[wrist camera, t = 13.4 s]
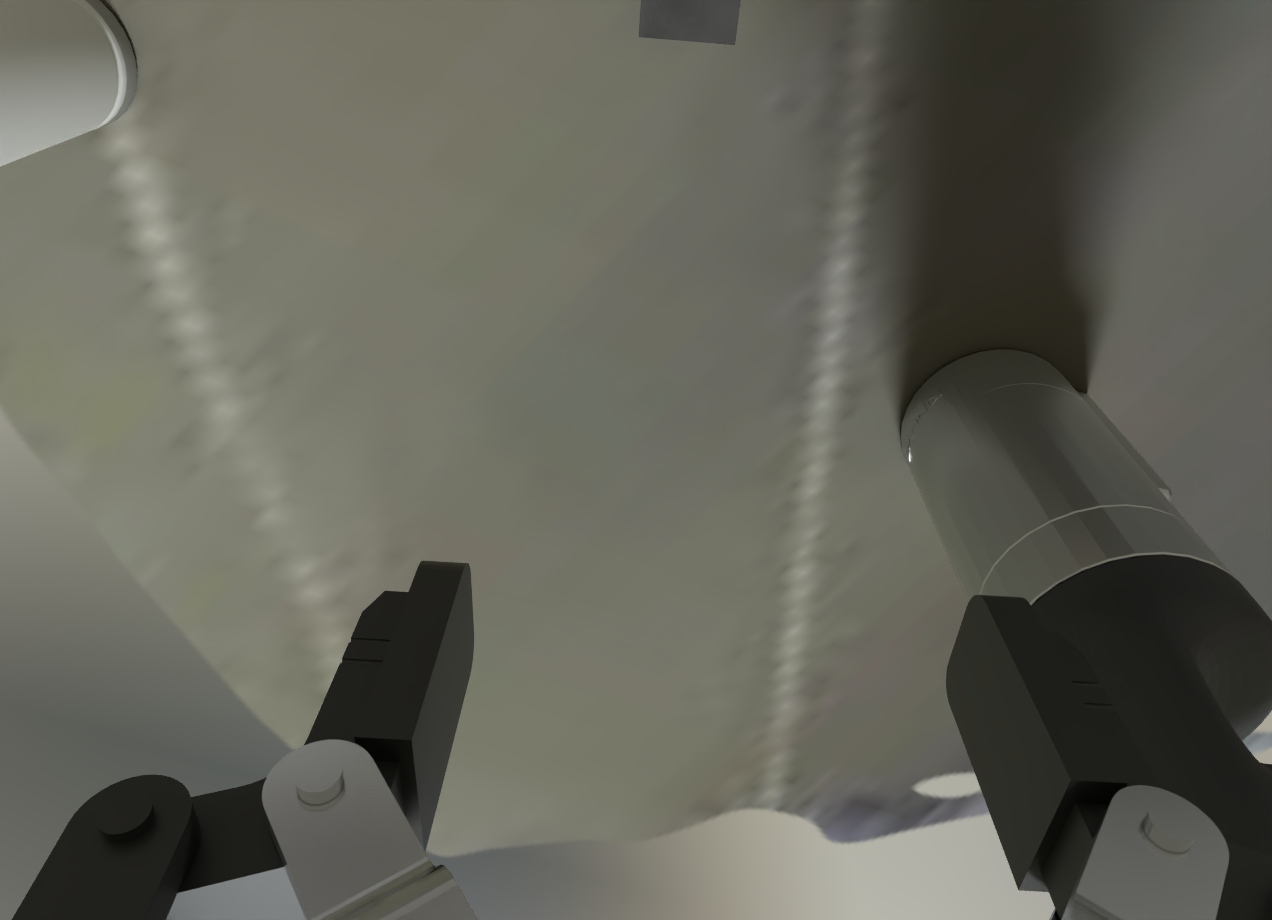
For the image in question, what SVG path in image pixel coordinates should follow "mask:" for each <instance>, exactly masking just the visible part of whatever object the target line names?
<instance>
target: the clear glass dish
mask: <svg viewBox="0 0 1272 920" xmlns="http://www.w3.org/2000/svg"><path fill="white" fill-rule="evenodd" d="M739 7H740V0H641V10H640V25H639V37H646V38H658V39H670V40H682V41H694V42H706V43H718V44H729V45H735V40H736V32H737V24H738V16H739Z"/></svg>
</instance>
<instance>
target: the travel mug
mask: <svg viewBox="0 0 1272 920" xmlns="http://www.w3.org/2000/svg"><path fill="white" fill-rule="evenodd" d="M136 87H137V67H136V60H135V57H134V53H133V50H132V46H131V44H130V42H129V40H128V38H127V36H126V34H125V31H124V30H123V28H122V27H121V25H120V24H119V22H118V21H117V19H116V18H115V16H114V15H113V14H112V13H111V12H110V11H109V10H108V9H107V7H106V6H105V5H104V4H103V3H102V2H101V1H99V0H0V166H3V165H5V164H8V163H10V162H13V161H15V160H18V159H20V158H23V157H26V156H28V155H31V154H33V153H36V152H38V151H41V150H43V149H46V148H48V147H51V146H54V145H56V144H59V143H61V142H64V141H66V140H69V139H71V138H74V137H77V136H79V135H82V134H84V133H87V132H89V131H91V130H94V129H97V128H100V127H102V126H105V125H107V124H109V123H111V122H113V121H115V120H117V119H118V118H119V117H121V116H122V115H123V114H124V113H125V112H126V111H127V109H128V108H129V106H130V104H131V103H132V101H133V98H134V95H135V91H136Z"/></svg>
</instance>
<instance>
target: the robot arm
mask: <svg viewBox="0 0 1272 920" xmlns="http://www.w3.org/2000/svg"><path fill="white" fill-rule="evenodd" d="M901 444H902V449H903V454H904V456H905V458H906V460H907V463H908V465H909V467H910V470H911V472H912V474H913V477H914V479H915V481H916V484H917V486H918V488H919V490H920V493H921V496H922V498H923V500H924V503H925V505H926V507H927V510H928V512H929V514H930V516H931V519H932V521H933V523H934V525H935V528H936V530H937V532H938V534H939V537H940V539H941V541H942V544H943V546H944V548H945V550H946V553H947V555H948V557H949V559H950V562H951V564H952V566H953V569H954V571H955V573H956V575H957V578H958V580H959V582H960V584H961V587H962V589H963V591H964V594H965V596H966V598H967V600H968V605H967V608H966V611H965V614H964V617H963V620H962V623H961V626H960V630H959V633H958V636H957V639H956V642H955V645H954V648H953V651H952V654H951V657H950V660H949V663H948V667H947V674H946V688H947V696H948V701H949V704H950V707H951V710H952V713H953V715H954V718H955V721H956V723H957V726H958V729H959V731H960V734H961V737H962V739H963V742H964V745H965V747H966V750H967V753H968V756H969V758H970V761H971V764H972V766H973V769H974V772H975V774H976V777H977V780H978V782H979V785H980V788H981V790H982V793H983V796H984V799H985V801H986V804H987V807H988V809H989V812H990V815H991V817H992V820H993V823H994V825H995V828H996V830H997V833H998V836H999V839H1000V842H1001V844H1002V847H1003V850H1004V852H1005V855H1006V858H1007V860H1008V863H1009V865H1010V868H1011V871H1012V874H1013V876H1014V879H1015V882H1016V885H1017V887H1018V890H1024V891H1042V892H1049V893H1050V896H1051V898H1052V901H1053V903H1054V906H1055V910H1054V911H1053V913H1052V915H1051V917H1050V920H1272V764H1263V763H1260V762H1259V761H1258V760H1257V759H1256V758H1255V757H1254V756H1253V755H1252V753H1251V752H1250V751H1249V750H1248V749H1247V747H1246V746H1245V745H1244V743H1243V742H1242V740H1244V739H1245V738H1246V737H1247V736H1248V735H1250V734H1251V733H1252V732H1253V731H1254V730H1255V729H1256V728H1257V727H1258V726H1259V725H1260V724H1261V723H1262V722H1263V721H1264V719H1265V718H1266V717H1267V716H1268V715H1269V713H1270V712H1271V710H1272V621H1271V619H1270V618H1269V617H1268V616H1267V614H1266V613H1265V612H1264V611H1263V609H1262V608H1261V607H1260V606H1259V604H1258V603H1257V602H1256V601H1255V600H1254V598H1253V597H1252V596H1251V595H1250V594H1249V593H1248V591H1247V590H1246V589H1245V588H1244V587H1243V586H1242V584H1241V583H1240V582H1239V581H1238V580H1237V579H1236V578H1235V577H1234V576H1233V575H1232V574H1231V572H1230V571H1229V570H1228V569H1227V568H1226V567H1225V565H1224V564H1223V563H1222V562H1221V561H1220V560H1219V558H1218V557H1217V556H1216V555H1215V554H1214V553H1213V551H1212V550H1211V549H1210V548H1209V547H1208V545H1207V544H1206V543H1205V542H1204V541H1203V540H1202V539H1201V537H1200V536H1199V535H1198V534H1197V533H1196V532H1195V531H1194V530H1193V528H1192V527H1191V526H1190V525H1189V524H1188V523H1187V521H1186V520H1185V519H1184V518H1183V517H1182V516H1181V514H1180V513H1179V512H1178V511H1177V510H1176V508H1175V507H1174V506H1173V505H1172V504H1171V503H1170V502H1171V500H1172V493H1171V490H1170V488H1169V487H1168V486H1167V485H1166V484H1165V483H1164V481H1163V480H1162V479H1161V478H1160V477H1159V476H1158V475H1157V473H1156V472H1155V471H1154V470H1153V469H1152V468H1151V467H1150V465H1149V464H1148V463H1147V462H1146V461H1145V460H1144V458H1143V457H1142V456H1141V455H1140V454H1139V453H1138V452H1137V450H1136V449H1135V448H1134V447H1133V446H1132V445H1131V444H1130V442H1129V441H1128V440H1127V439H1126V438H1125V437H1124V436H1123V434H1122V433H1121V432H1120V431H1119V430H1118V429H1117V428H1116V426H1115V425H1114V424H1113V423H1112V422H1111V421H1110V420H1109V418H1108V417H1107V416H1106V415H1105V414H1104V413H1103V412H1102V410H1101V409H1100V408H1099V407H1098V406H1097V405H1096V404H1095V402H1094V401H1093V400H1092V399H1091V398H1090V397H1089V395H1087V394H1085V393H1081V392H1077V391H1076V390H1075V389H1074V388H1073V387H1072V386H1071V384H1070V383H1069V382H1068V381H1067V380H1066V379H1065V377H1064V376H1063V375H1062V374H1061V373H1060V372H1059V371H1058V370H1057V369H1056V368H1055V367H1054V366H1052V365H1051V364H1050V363H1049V362H1048V361H1046V360H1044V359H1042V358H1040V357H1038V356H1036V355H1034V354H1030V353H1026V352H1022V351H1018V350H1003V349H996V350H990V351H983V352H978V353H975V354H972V355H969V356H966V357H963V358H960V359H958V360H956V361H954V362H952V363H950V364H949V365H947V366H945V367H943V368H942V369H940V370H939V371H938V372H937V373H935V374H934V375H933V376H931V377H930V378H929V379H928V380H927V381H926V382H925V383H924V384H923V385H922V386H921V388H920V389H919V390H918V391H917V392H916V393H915V395H914V397H913V398H912V400H911V402H910V403H909V405H908V407H907V409H906V412H905V415H904V418H903V421H902V427H901ZM473 650H474V626H473V607H472V588H471V572H470V566H469V564H468V563H454V562H437V561H421V562H420V564H419V566H418V569H417V571H416V574H415V577H414V579H413V582H412V585H411V587H410V590H409V592H395V591H384V592H383V593H382V594H381V595H380V596H379V597H378V598H377V599H376V600H375V601H374V602H373V603H372V604H370V605H369V606H368V607H367V608H366V609H365V610H364V611H363V612H362V614H361V616H360V618H359V621H358V623H357V625H356V628H355V630H354V632H353V635H352V637H351V643H349V644H348V646H347V648H346V651H345V653H344V655H343V658H342V664H341V663H340V665H339V667H338V669H337V672H336V674H335V676H334V679H333V681H332V683H331V685H330V688H329V690H328V692H327V695H326V697H325V699H324V702H323V704H322V706H321V709H320V711H319V713H318V716H317V718H316V720H315V722H314V725H313V727H312V729H311V732H310V734H309V736H308V739H307V740H306V742H305V744H304V746H302V747H300V748H298V749H296V750H294V751H292V752H291V753H289V754H288V755H286V756H285V757H284V758H282V759H281V760H280V761H279V762H278V763H277V764H276V765H275V766H274V767H273V769H272V770H271V771H270V773H269V775H268V776H267V777H266V778H264V779H262V780H260V781H257V782H254V783H252V784H248V785H245V786H241V787H237V788H232V789H228V790H223V791H218V792H214V793H209V794H204V795H200V796H195V797H190V794H189V791H188V790H187V789H186V787H185V786H184V785H183V784H182V783H180V782H179V781H177V780H175V779H173V778H171V777H167V776H162V775H142V776H137V777H132V778H129V779H125V780H122V781H120V782H117V783H115V784H113V785H110V786H109V787H107V788H105V789H103V790H102V791H100V792H98V793H97V794H96V795H94V796H93V797H91V798H90V799H89V800H88V801H87V802H86V803H84V804H83V805H82V806H81V807H80V808H79V810H78V811H77V812H76V813H75V814H74V815H73V817H72V818H71V820H70V821H69V823H68V825H67V826H66V828H65V830H64V832H63V833H62V835H61V836H60V838H59V840H58V842H57V843H56V845H55V847H54V848H53V850H52V852H51V854H50V855H49V857H48V859H47V860H46V862H45V864H44V866H43V867H42V869H41V871H40V872H39V874H38V876H37V878H36V879H35V881H34V883H33V884H32V886H31V888H30V890H29V891H28V893H27V895H26V897H25V898H24V900H23V901H22V903H21V905H20V907H19V908H18V910H17V912H16V913H15V915H14V917H13V919H12V920H479V919H478V918H477V916H476V914H475V912H474V910H473V909H472V907H471V905H470V904H469V902H468V900H467V898H466V897H465V895H464V893H463V892H462V890H461V888H460V886H459V885H458V883H457V882H456V880H455V878H454V877H453V875H452V874H451V873H450V871H449V870H448V869H447V868H446V867H445V866H444V865H439V866H437V867H435V866H434V865H433V864H432V862H431V861H430V859H429V858H428V856H427V854H426V852H425V851H426V847H427V843H428V839H429V835H430V831H431V827H432V823H433V819H434V816H435V812H436V808H437V804H438V800H439V796H440V792H441V788H442V784H443V780H444V776H445V772H446V768H447V764H448V760H449V756H450V752H451V748H452V744H453V740H454V736H455V732H456V728H457V724H458V721H459V717H460V713H461V709H462V705H463V701H464V697H465V693H466V689H467V685H468V681H469V677H470V673H471V667H472V660H473Z"/></svg>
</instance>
